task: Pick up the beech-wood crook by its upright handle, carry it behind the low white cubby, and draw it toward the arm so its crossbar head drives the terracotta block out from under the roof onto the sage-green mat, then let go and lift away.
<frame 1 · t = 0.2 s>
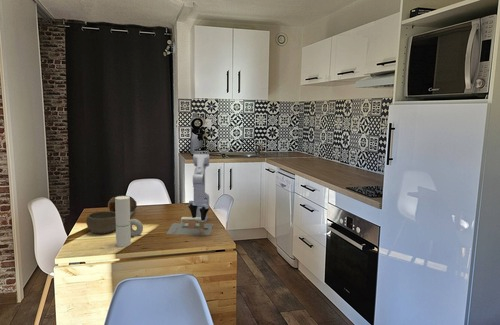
hand: (198, 218, 206), 10 cm above the table, tool pointing down, fingers open, 7 cm apart
clay pot: (126, 215, 246), on the table
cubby: (190, 229, 217), on the table
donut: (134, 236, 204), on the table
cylindrical container: (123, 244, 191), on the table
block: (192, 227, 219), point 1 cm above the table, touching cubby
bowl: (103, 231, 212), on the table
rake: (201, 233, 208), point 1 cm above the table, touching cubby
metal bar: (175, 230, 213), point 1 cm above the table, touching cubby
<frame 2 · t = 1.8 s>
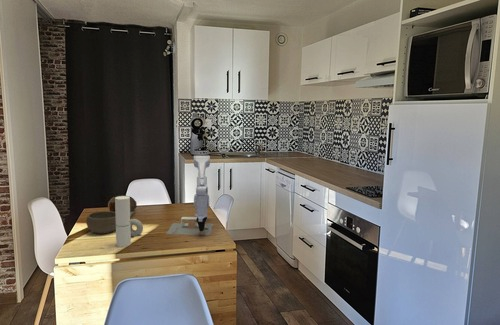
hand: (201, 230, 208), 3 cm above the table, tool pointing down, fingers closed on rake
rake: (201, 233, 208), point 1 cm above the table, touching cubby, gripper
everything else where it was.
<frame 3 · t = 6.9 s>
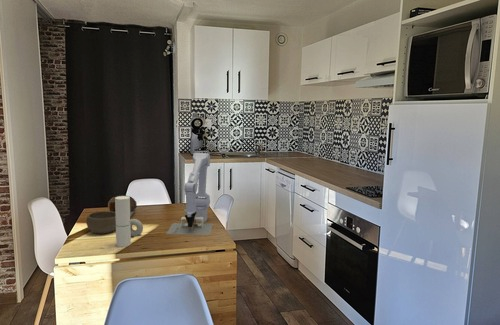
hand: (190, 225, 214), 4 cm above the table, tool pointing down, fingers open, 5 cm apart
block: (193, 224, 225), point 1 cm above the table, touching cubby
rake: (190, 230, 214), point 1 cm above the table, touching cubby
everything else where it was.
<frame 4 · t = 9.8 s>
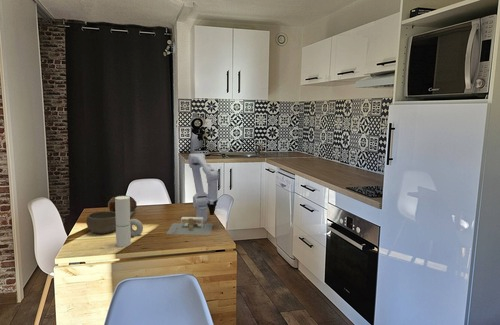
hand: (212, 213, 220), 9 cm above the table, tool pointing down, fingers open, 7 cm apart
nothing on the table moved.
at the end: block 1.1 cm from the target spot, point 0.8 cm above the table; block tilted 0°; the gripper is holding nothing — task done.
